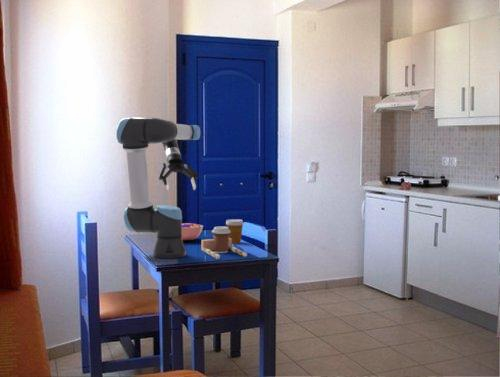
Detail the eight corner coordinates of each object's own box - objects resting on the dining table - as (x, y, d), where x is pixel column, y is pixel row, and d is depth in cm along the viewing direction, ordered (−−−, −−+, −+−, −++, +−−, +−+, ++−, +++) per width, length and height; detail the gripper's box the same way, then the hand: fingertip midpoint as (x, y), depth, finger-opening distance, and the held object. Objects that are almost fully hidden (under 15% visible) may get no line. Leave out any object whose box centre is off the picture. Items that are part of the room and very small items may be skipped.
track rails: (246, 256, 276) (247, 253, 276) (216, 258, 270) (216, 255, 270) (231, 248, 294) (231, 245, 294) (203, 250, 289) (203, 247, 288)
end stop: (231, 248, 294) (231, 239, 294) (203, 250, 289) (203, 240, 288) (229, 247, 297) (229, 238, 297) (201, 249, 291) (201, 239, 291)
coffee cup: (211, 253, 282) (211, 228, 281) (211, 250, 291) (212, 226, 290) (230, 253, 282) (230, 228, 281) (230, 250, 291) (230, 226, 290)
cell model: (201, 243, 309) (201, 222, 308) (163, 243, 309) (163, 221, 308) (204, 238, 326) (204, 217, 325) (168, 237, 326) (168, 217, 325)
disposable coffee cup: (225, 244, 306) (225, 221, 305) (225, 241, 316) (225, 219, 315) (243, 244, 307) (243, 221, 306) (243, 241, 316) (243, 219, 315)
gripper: (195, 162, 315) (204, 192, 303) (149, 162, 306) (156, 194, 293) (198, 152, 310) (207, 183, 297) (151, 152, 300) (158, 184, 288)
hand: (181, 188), depth 295 cm, fingers open, 13 cm apart
